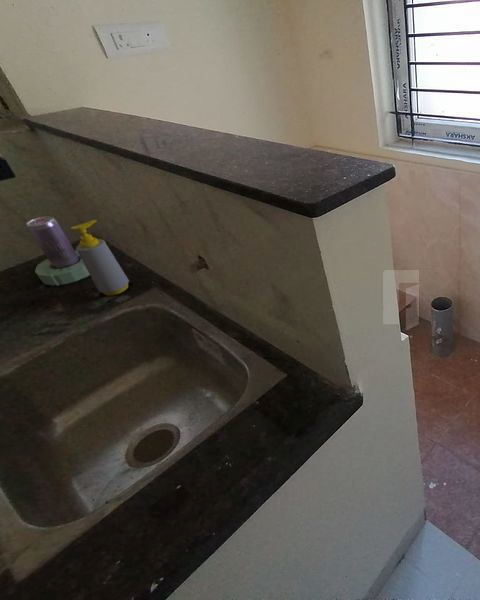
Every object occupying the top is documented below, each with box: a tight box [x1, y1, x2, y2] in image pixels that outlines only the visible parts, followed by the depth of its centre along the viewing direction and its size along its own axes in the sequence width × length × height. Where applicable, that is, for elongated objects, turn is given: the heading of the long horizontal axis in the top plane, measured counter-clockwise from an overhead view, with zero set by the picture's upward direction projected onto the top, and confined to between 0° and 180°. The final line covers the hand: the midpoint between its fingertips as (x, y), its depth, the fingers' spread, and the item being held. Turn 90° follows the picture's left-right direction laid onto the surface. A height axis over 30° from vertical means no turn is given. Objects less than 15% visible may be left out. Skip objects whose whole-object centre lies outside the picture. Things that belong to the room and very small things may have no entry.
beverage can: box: [25, 215, 80, 269], centre depth 101 cm, size 6×6×15 cm
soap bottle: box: [70, 219, 130, 296], centre depth 93 cm, size 7×7×18 cm
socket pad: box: [34, 249, 90, 287], centre depth 105 cm, size 13×13×3 cm
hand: (0, 174), depth 89 cm, fingers open, 9 cm apart
